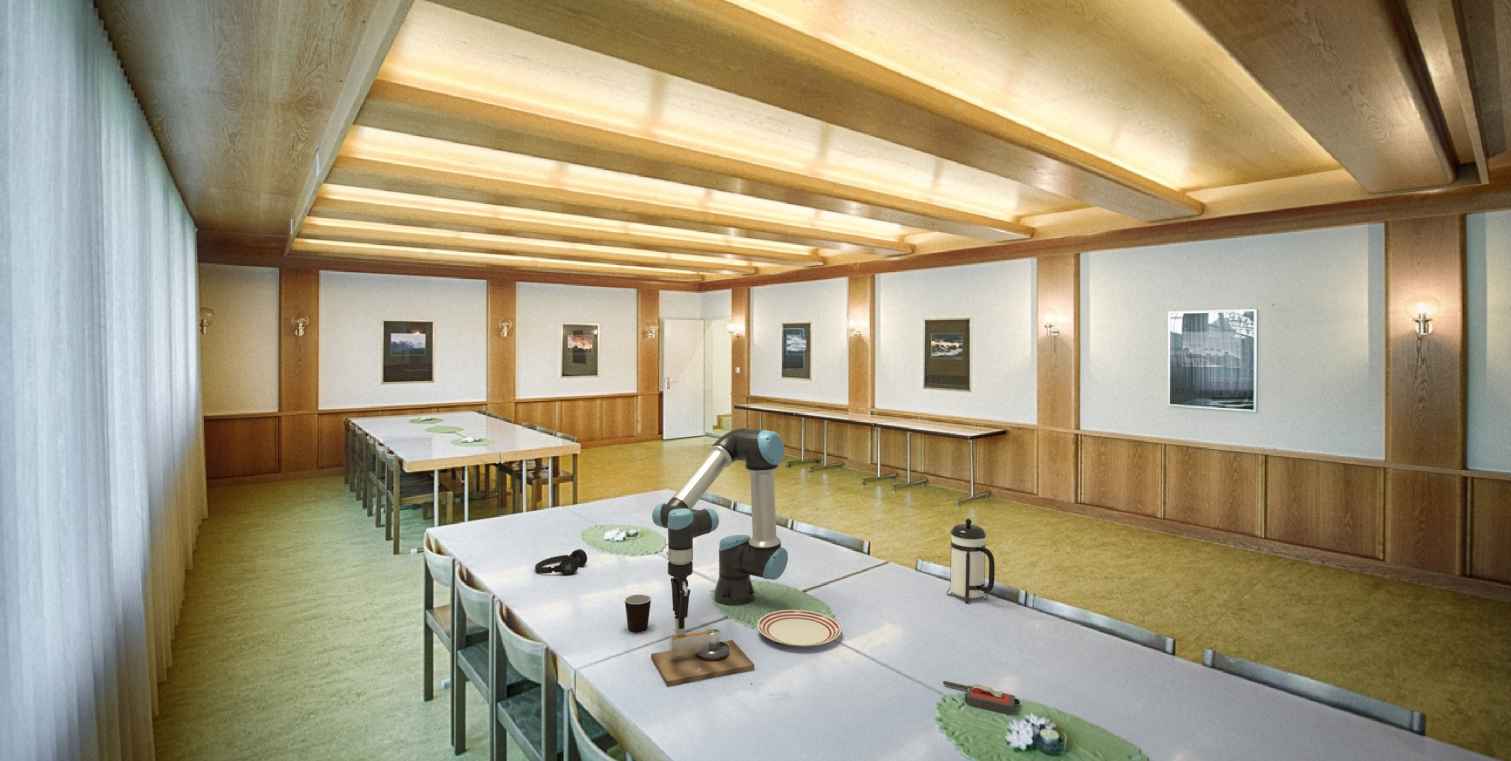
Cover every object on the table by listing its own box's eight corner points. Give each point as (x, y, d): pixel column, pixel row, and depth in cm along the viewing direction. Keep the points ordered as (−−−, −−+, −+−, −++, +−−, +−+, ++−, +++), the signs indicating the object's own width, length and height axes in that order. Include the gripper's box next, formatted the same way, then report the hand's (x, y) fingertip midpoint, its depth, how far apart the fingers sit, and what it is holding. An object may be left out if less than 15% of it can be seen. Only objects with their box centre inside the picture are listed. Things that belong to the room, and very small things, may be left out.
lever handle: (722, 643, 204) (722, 622, 204) (734, 657, 195) (734, 635, 195) (665, 653, 197) (666, 631, 197) (675, 667, 188) (675, 645, 188)
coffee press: (944, 601, 246) (945, 522, 244) (948, 587, 260) (950, 512, 259) (993, 608, 239) (995, 527, 238) (995, 594, 254) (997, 517, 253)
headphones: (572, 558, 269) (527, 563, 272) (575, 576, 269) (529, 581, 272) (588, 546, 286) (545, 551, 289) (591, 563, 286) (548, 568, 289)
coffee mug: (645, 635, 214) (645, 605, 214) (620, 632, 216) (620, 602, 215) (657, 621, 225) (657, 592, 225) (634, 619, 227) (634, 590, 227)
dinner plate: (848, 624, 224) (848, 615, 224) (830, 659, 198) (831, 648, 198) (771, 614, 233) (771, 604, 233) (745, 646, 207) (745, 635, 207)
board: (732, 644, 208) (732, 639, 208) (754, 669, 191) (754, 664, 191) (651, 658, 198) (651, 653, 198) (667, 686, 181) (667, 680, 181)
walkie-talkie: (1020, 702, 175) (943, 685, 184) (1020, 686, 175) (943, 669, 184) (1017, 718, 167) (937, 699, 176) (1018, 701, 167) (937, 683, 176)
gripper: (662, 556, 205) (662, 631, 206) (674, 568, 193) (673, 648, 194) (685, 553, 208) (685, 627, 209) (698, 565, 196) (698, 644, 197)
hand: (679, 637), depth 201 cm, fingers closed
